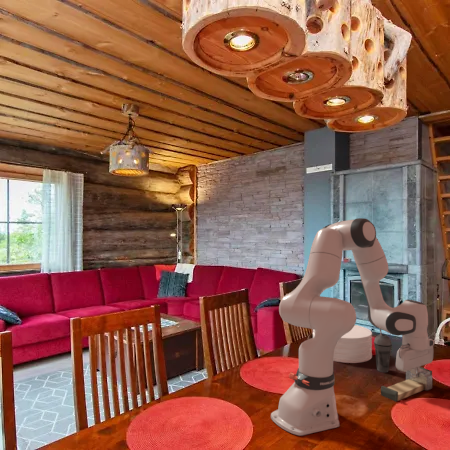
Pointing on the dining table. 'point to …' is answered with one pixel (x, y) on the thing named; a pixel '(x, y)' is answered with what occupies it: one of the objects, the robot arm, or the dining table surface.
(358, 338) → the plate stack
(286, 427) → the robot arm
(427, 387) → the block
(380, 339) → the beverage cup
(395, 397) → the rail
